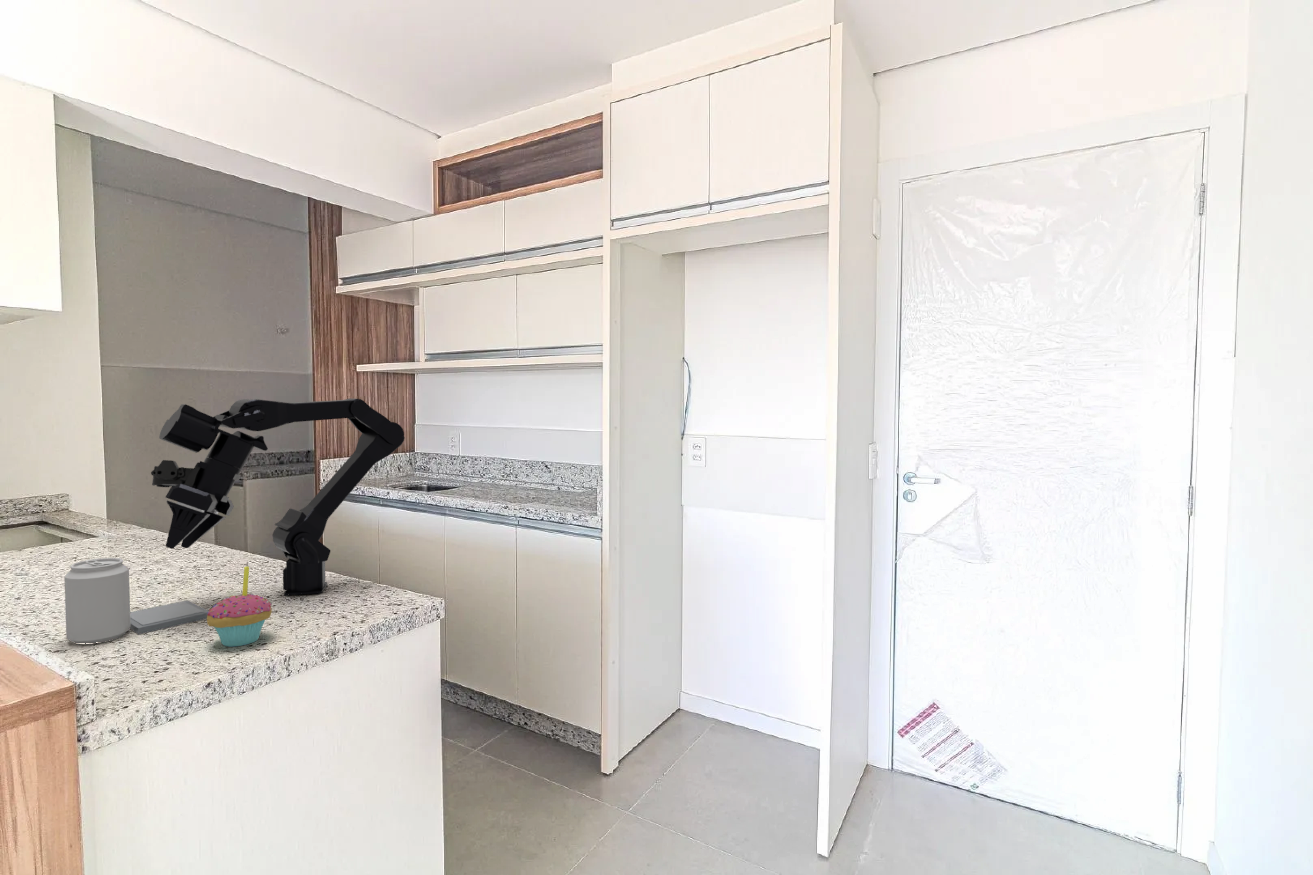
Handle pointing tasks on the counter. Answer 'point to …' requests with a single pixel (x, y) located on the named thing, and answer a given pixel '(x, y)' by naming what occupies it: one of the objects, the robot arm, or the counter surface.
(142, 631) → the plate
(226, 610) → the cupcake
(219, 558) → the counter surface
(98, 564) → the can
